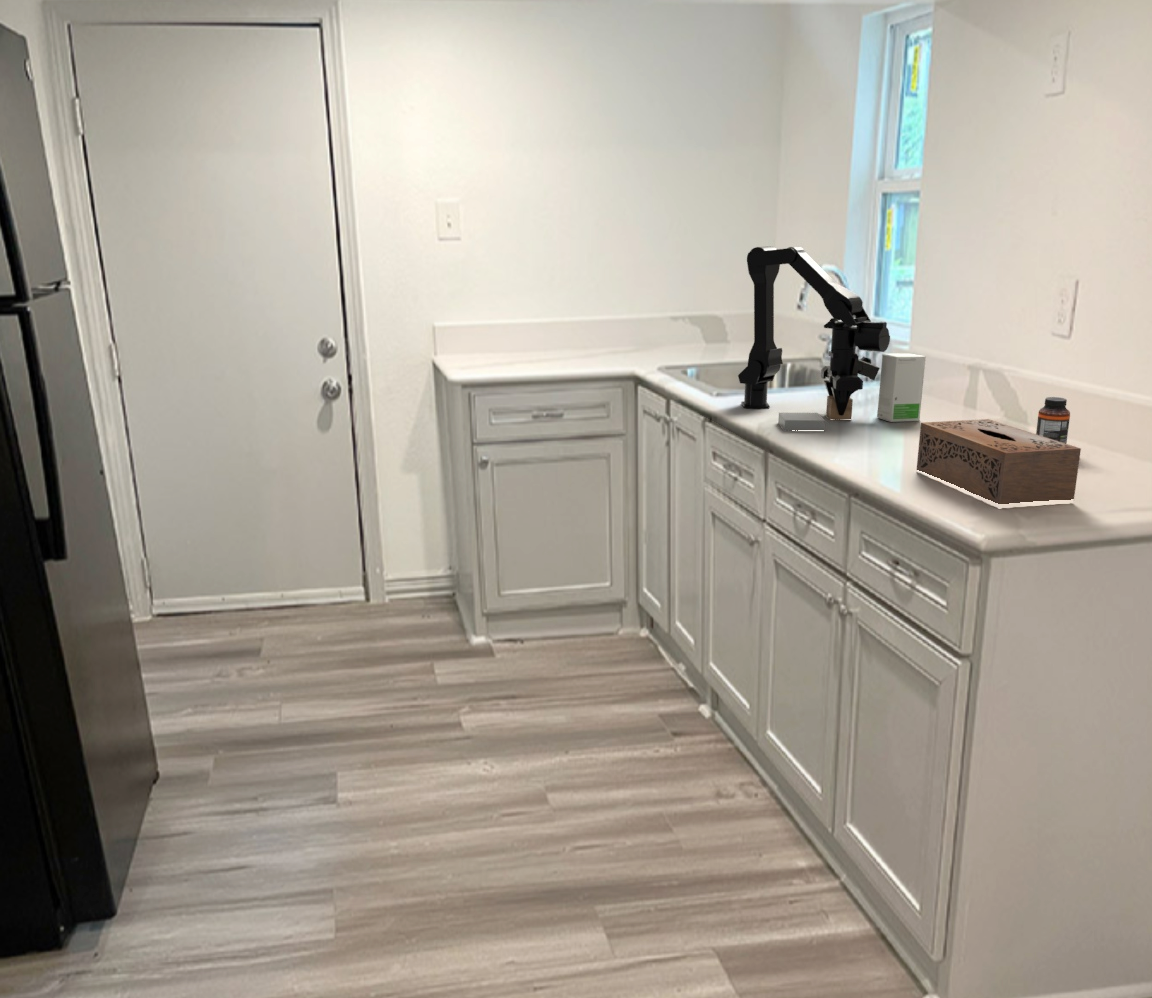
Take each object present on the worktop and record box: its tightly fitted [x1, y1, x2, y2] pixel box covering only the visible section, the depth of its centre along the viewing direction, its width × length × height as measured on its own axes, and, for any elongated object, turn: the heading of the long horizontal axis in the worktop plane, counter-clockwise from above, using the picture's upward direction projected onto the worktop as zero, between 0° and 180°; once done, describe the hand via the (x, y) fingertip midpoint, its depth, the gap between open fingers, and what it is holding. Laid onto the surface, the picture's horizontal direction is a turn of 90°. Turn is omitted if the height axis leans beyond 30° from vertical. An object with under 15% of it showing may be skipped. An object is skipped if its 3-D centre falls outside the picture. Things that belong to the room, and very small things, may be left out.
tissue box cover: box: [916, 418, 1082, 504], centre depth 184 cm, size 26×14×10 cm, turn 13°
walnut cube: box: [825, 395, 854, 421], centre depth 245 cm, size 5×5×5 cm
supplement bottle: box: [1035, 396, 1071, 444], centre depth 209 cm, size 6×6×11 cm
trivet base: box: [777, 412, 826, 432], centre depth 235 cm, size 9×9×3 cm
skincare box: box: [876, 353, 927, 423], centre depth 242 cm, size 8×7×16 cm
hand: (838, 413), depth 246 cm, fingers closed on walnut cube, 5 cm apart
